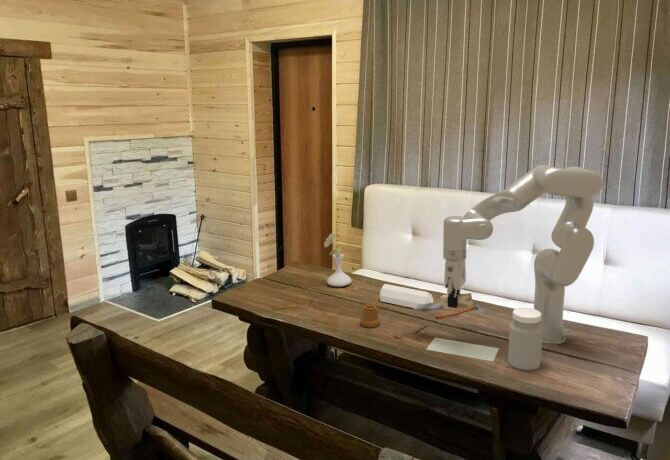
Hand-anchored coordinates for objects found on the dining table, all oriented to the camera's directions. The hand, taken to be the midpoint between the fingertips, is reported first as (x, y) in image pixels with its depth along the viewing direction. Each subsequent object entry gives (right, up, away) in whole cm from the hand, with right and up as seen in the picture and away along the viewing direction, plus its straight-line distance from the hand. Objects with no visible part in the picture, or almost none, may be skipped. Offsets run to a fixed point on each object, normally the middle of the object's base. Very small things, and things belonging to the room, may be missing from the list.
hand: (453, 305), depth 189 cm
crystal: (-11, -5, +40) cm, 42 cm away
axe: (+9, -8, +27) cm, 30 cm away
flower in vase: (-39, 0, +65) cm, 76 cm away
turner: (-3, -1, +2) cm, 4 cm away
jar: (+19, -17, -14) cm, 29 cm away
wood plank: (-11, -11, +10) cm, 19 cm away
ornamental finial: (-27, -10, +21) cm, 36 cm away
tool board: (+2, -15, -3) cm, 16 cm away
